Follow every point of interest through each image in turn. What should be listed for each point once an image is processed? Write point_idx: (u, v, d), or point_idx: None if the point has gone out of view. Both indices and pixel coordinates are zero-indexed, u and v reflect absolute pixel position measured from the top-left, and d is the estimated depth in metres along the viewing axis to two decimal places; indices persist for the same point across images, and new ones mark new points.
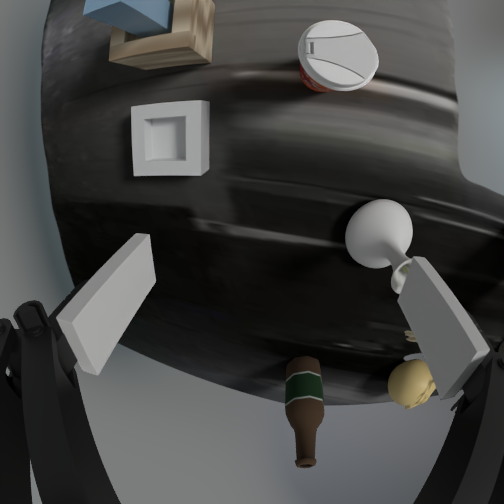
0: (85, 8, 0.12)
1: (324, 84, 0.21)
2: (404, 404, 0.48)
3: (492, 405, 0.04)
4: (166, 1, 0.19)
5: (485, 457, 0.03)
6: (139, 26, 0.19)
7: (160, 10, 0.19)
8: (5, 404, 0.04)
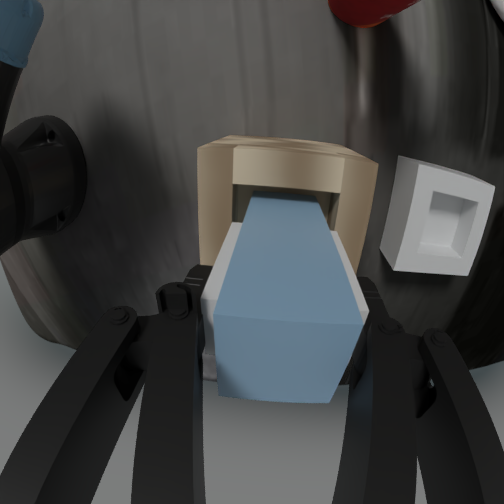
0: (311, 400, 0.09)
1: None
2: None
3: (382, 380, 0.06)
4: (256, 202, 0.15)
5: (391, 441, 0.04)
6: None
7: (289, 212, 0.14)
8: (104, 404, 0.06)
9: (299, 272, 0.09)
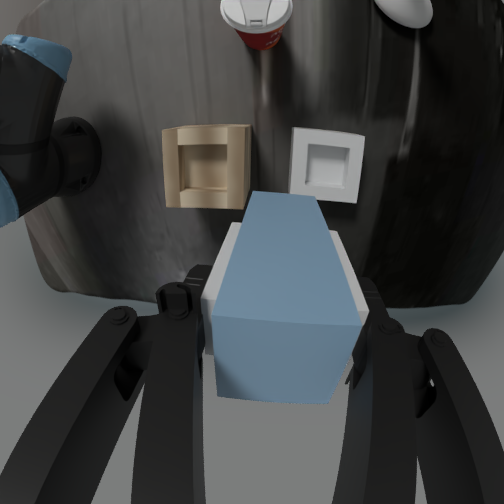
0: (310, 401, 0.09)
1: (289, 15, 0.20)
2: None
3: (382, 380, 0.06)
4: (255, 203, 0.15)
5: (392, 441, 0.04)
6: None
7: (289, 212, 0.14)
8: (104, 404, 0.06)
9: (298, 273, 0.09)
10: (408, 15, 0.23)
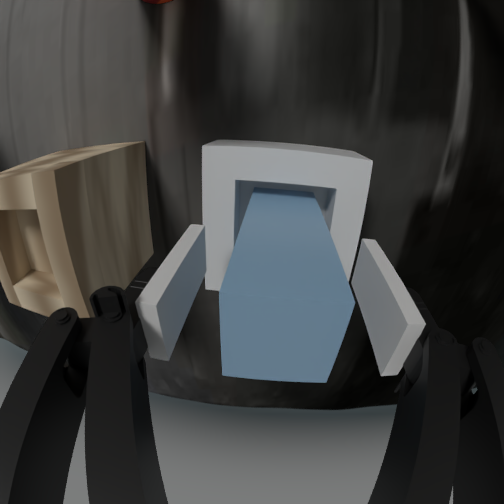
0: (309, 379, 0.10)
1: None
2: None
3: (435, 387, 0.05)
4: (256, 198, 0.16)
5: (437, 444, 0.04)
6: None
7: (288, 206, 0.15)
8: (57, 400, 0.05)
9: (297, 258, 0.10)
10: None
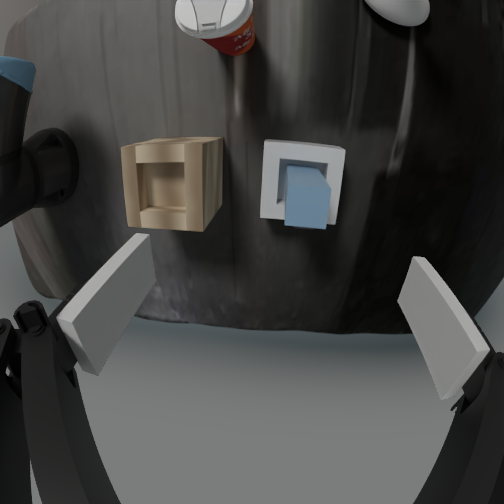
0: (318, 226, 0.26)
1: (247, 14, 0.18)
2: None
3: (492, 405, 0.04)
4: (289, 167, 0.33)
5: (485, 457, 0.03)
6: None
7: (305, 170, 0.32)
8: (5, 404, 0.04)
9: (311, 181, 0.26)
10: (400, 11, 0.21)
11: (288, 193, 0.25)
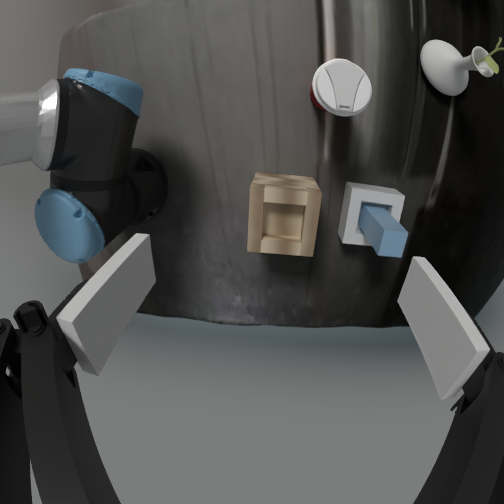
0: (397, 256, 0.36)
1: (368, 101, 0.28)
2: None
3: (492, 405, 0.04)
4: (367, 207, 0.43)
5: (485, 458, 0.03)
6: None
7: (379, 211, 0.42)
8: (5, 404, 0.04)
9: (392, 224, 0.37)
10: (449, 86, 0.31)
11: (383, 235, 0.35)
